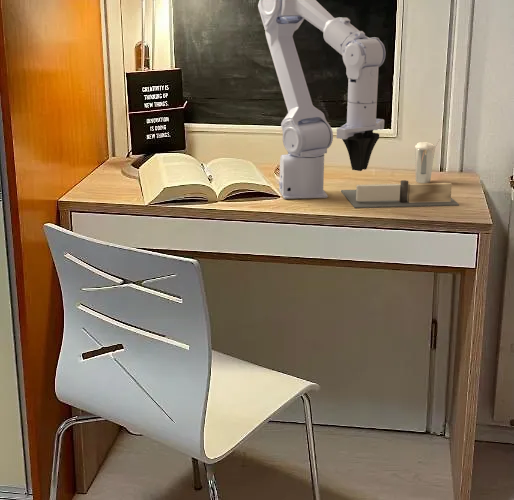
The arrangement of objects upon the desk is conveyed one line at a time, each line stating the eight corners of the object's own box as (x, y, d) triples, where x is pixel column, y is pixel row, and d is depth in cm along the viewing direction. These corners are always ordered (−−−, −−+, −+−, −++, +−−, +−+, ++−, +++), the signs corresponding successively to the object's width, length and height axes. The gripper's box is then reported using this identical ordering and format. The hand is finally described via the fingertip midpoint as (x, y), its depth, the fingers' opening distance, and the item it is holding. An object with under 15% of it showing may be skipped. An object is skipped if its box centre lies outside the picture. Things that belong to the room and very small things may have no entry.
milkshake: (436, 184, 204) (439, 140, 201) (412, 183, 205) (415, 139, 202) (436, 180, 208) (439, 137, 205) (413, 178, 209) (415, 136, 206)
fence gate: (398, 198, 189) (398, 183, 188) (399, 200, 188) (400, 185, 187) (355, 199, 188) (356, 184, 187) (357, 201, 187) (357, 186, 186)
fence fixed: (400, 202, 188) (401, 182, 186) (398, 200, 189) (399, 180, 188) (450, 201, 189) (452, 181, 188) (448, 199, 191) (450, 179, 189)
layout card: (354, 208, 185) (354, 206, 185) (340, 191, 198) (341, 189, 198) (458, 205, 187) (458, 203, 187) (438, 189, 200) (438, 187, 200)
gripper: (359, 108, 169) (356, 178, 173) (398, 99, 180) (395, 166, 184) (328, 104, 173) (326, 173, 177) (368, 95, 184) (365, 161, 188)
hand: (359, 169), depth 181 cm, fingers closed
